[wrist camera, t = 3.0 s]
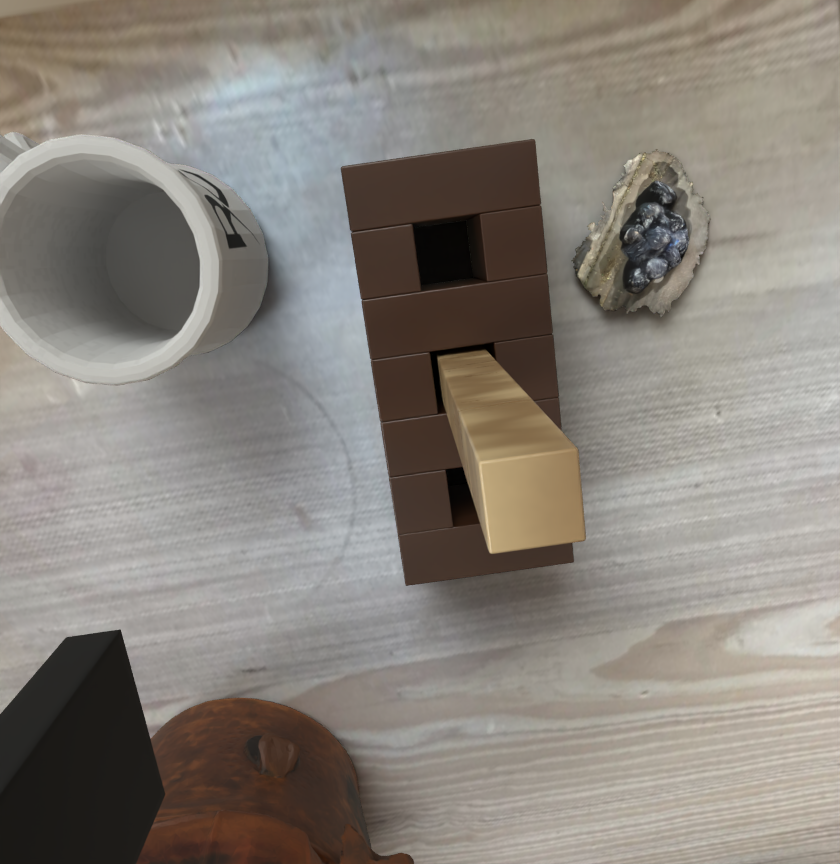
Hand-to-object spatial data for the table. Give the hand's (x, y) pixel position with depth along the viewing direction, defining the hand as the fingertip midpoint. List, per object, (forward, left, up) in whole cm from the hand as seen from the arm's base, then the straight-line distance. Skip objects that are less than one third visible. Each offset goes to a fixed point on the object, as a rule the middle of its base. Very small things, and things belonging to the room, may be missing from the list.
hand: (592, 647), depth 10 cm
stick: (0, 0, -28) cm, 28 cm away
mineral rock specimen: (-10, -5, -28) cm, 30 cm away
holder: (0, 0, -28) cm, 28 cm away
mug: (+14, -8, -28) cm, 32 cm away
